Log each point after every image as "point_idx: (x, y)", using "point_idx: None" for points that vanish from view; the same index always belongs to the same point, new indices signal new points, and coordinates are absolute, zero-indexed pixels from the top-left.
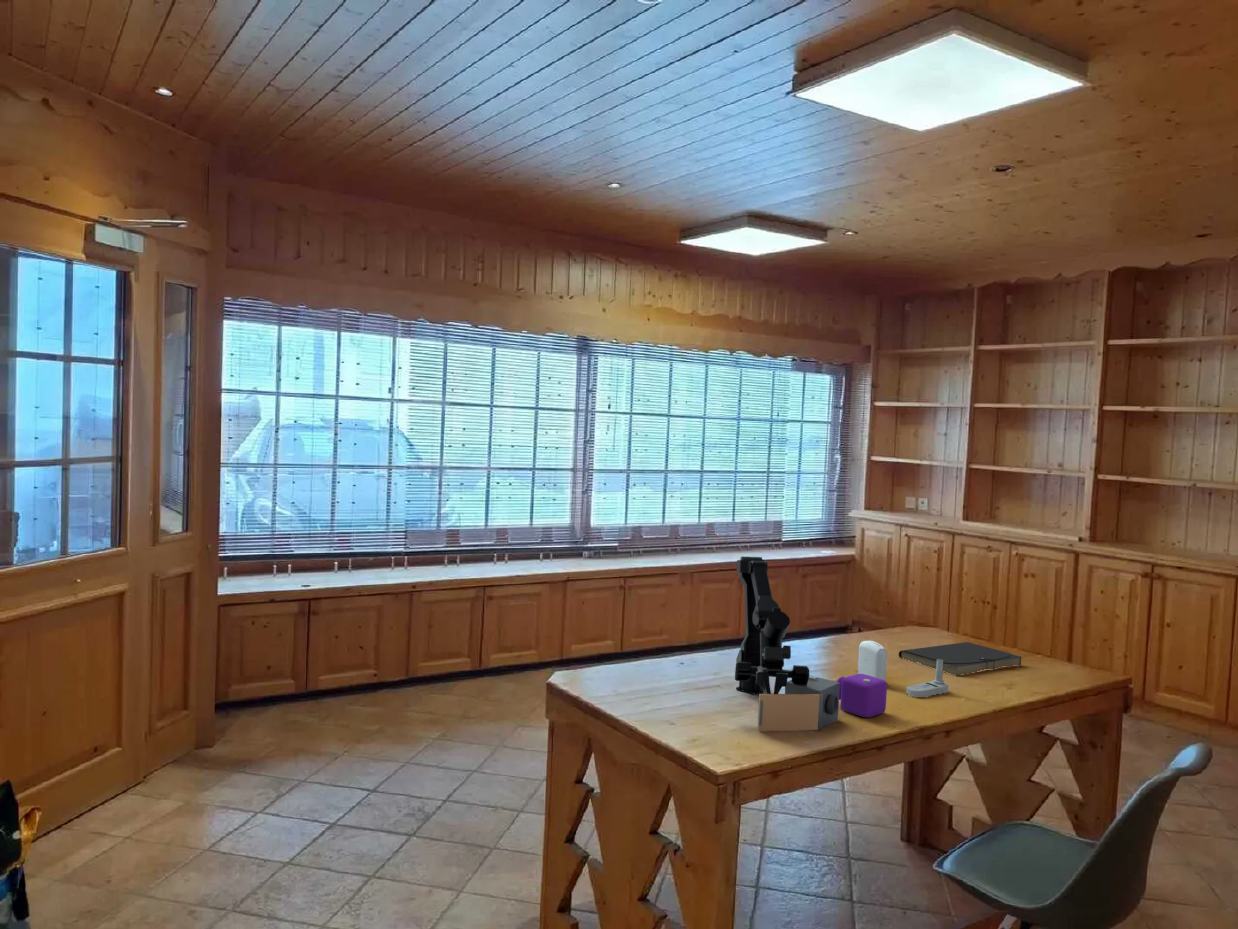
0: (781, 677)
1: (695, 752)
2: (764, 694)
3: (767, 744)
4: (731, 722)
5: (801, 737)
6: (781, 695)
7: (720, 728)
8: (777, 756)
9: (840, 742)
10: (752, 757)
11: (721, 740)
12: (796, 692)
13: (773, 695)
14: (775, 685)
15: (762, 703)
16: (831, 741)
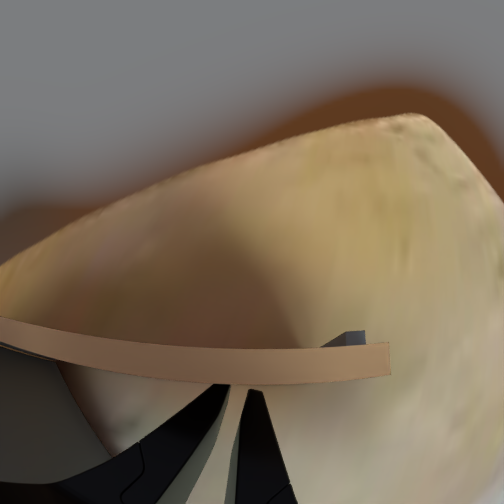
0: (15, 500)
1: (483, 193)
2: (342, 360)
3: (309, 227)
4: (394, 463)
5: (144, 292)
6: (151, 345)
7: (447, 384)
8: (298, 147)
9: (54, 242)
10: (367, 149)
11: (450, 266)
12: (15, 475)
13: (241, 350)
14: (154, 492)
15: (343, 335)
16: (70, 250)
